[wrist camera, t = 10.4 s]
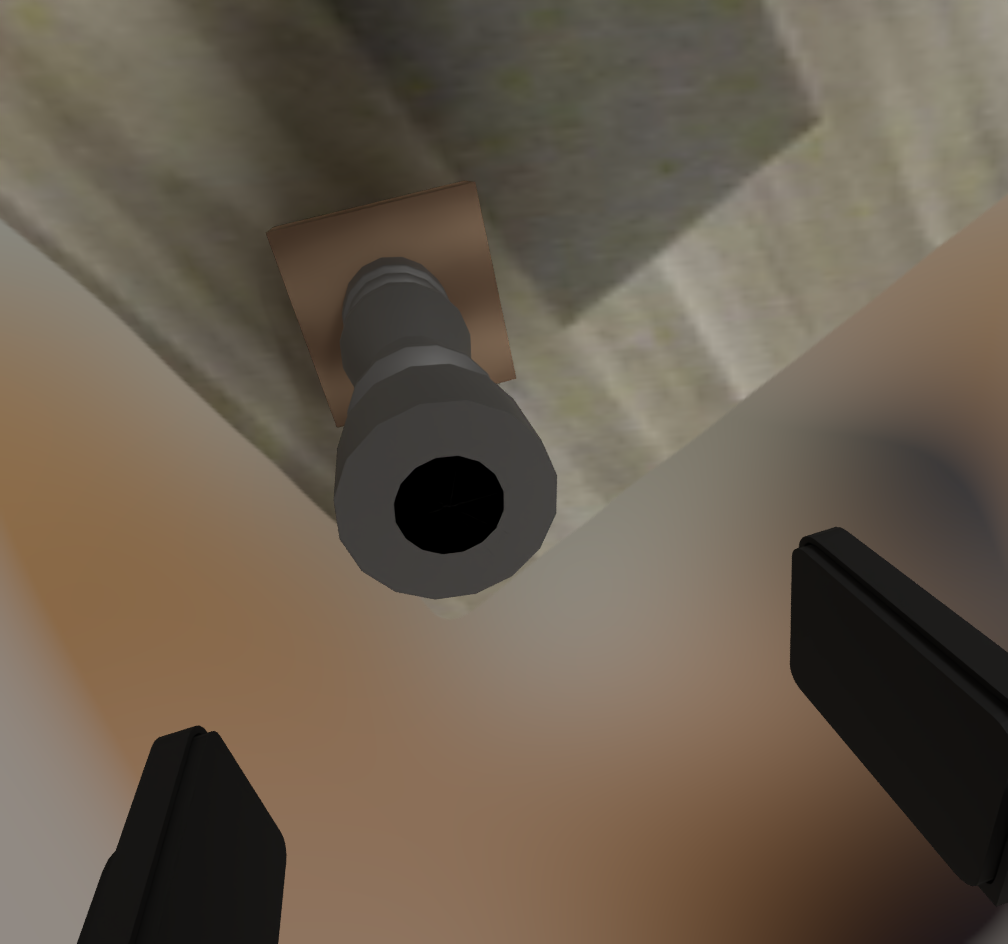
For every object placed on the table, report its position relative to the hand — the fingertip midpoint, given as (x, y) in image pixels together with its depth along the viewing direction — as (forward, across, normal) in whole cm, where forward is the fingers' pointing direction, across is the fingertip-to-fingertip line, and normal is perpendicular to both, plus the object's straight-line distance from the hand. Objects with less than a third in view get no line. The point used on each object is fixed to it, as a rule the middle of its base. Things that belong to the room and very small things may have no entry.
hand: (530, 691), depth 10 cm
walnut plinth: (+36, 0, +1) cm, 36 cm away
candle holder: (+32, 0, 0) cm, 32 cm away
